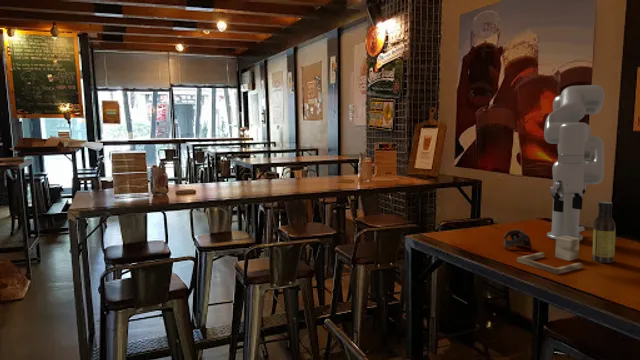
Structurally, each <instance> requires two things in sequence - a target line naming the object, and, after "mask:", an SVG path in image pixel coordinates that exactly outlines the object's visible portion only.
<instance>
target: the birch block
mask: <svg viewBox="0 0 640 360" xmlns="http://www.w3.org/2000/svg"><path fill="white" fill-rule="evenodd" d="M579 250H580V241H579V239H578V238H574V237H570V236H561V237H556V239H555V254H554V256H555V258H557V259H561V260H565V261H574V260H578V259H579Z"/></svg>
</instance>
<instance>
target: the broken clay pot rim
mask: <svg viewBox="0 0 640 360" xmlns="http://www.w3.org/2000/svg"><path fill="white" fill-rule="evenodd" d="M508 237H510V239H508ZM503 238H504V239H503V246H504V247H503V248H504V249H507V248H514V247H515V248H516V247H519V246H520V247H528V248H530V251H533V245H532V242H531V239H530V238H531V237H530V236H529V235H528V234H527V233H526V232H524V231H523V230H522V229H518V228H516V229H511V230H509V231H507V232H506V233H504V236H503Z"/></svg>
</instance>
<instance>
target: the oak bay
mask: <svg viewBox="0 0 640 360" xmlns="http://www.w3.org/2000/svg"><path fill="white" fill-rule="evenodd" d="M545 256H546V255H545V252H543V251H541V252H540V251H539V252H536V253H532V254H527V255H523V256H522V255H521V256H517V257H516V262H517V263H520V264H522V265H525V264H526V266H528V265H529V266H528V267H531V268H536V269H538V268H539V269H538V270H541V269H542V270H541V271H544V270H545V272H548V273H551V274H554V275H560V274H563V273H568V272H572V271H576V270H579V269H583V263H582V262H579V261H578V262H576V263H575V262H574V263H571V264H567V265H562V266H559V267H554V266H551V265H549V264H548V265H547V264H545V263H541V262H538V261H535V260H539V259H542V258H545Z"/></svg>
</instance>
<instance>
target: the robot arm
mask: <svg viewBox="0 0 640 360" xmlns="http://www.w3.org/2000/svg"><path fill="white" fill-rule="evenodd" d="M605 96H606V94H605V90H604V87H602V86H601V85H599V84H591V85H590V84H586V85H582V84H581V85H570V86H568V87H565V88H564V89H563V90H562V91H561V93H560V94H559V95H557V96H555V98H554V99H553V102H552V112H551V113H549V114H548V115H547V117H546V119H545V122H544V129H543V130H544V131H543V138H544V140H545V142H546V143H548V144H551V145H557V154H558V156H557V160H556V161H555V162H554V163H553V165H552V168H551V170H552V171H551V173H552V181H553V182H552V186H551V187H550V192H551V196H552V212H551V213H552V215H551V218H552V219H551V231H549V232H547V233H546V236H547V238H550V239H552V240H556V237H561V236H570V237H574V238H578V239H579V242H580V241H582V240H583V239H584V238H583V237H584V236H583V235H582V234H580V233H581V232H583V231H585V227H584V226H581V225H580V216H581V215H580V214H581V213H580V211H581V210H583V198H584V197H585V193H586V189H587V187H588V186H587V185H599V184H601V183H602V182H603V180H604V176H605V144H604V140H603V139H602V138H601V137H600V136H596V135H592V128H591V127H590V125H589V124H588V123H586V122H582V121H581V120H582V119H583V118H584V117H585V115H596V114H599V113H600V112H601V110H602V108H603V105H604V104H605V103H604V102H605ZM580 121H581V122H580Z"/></svg>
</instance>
